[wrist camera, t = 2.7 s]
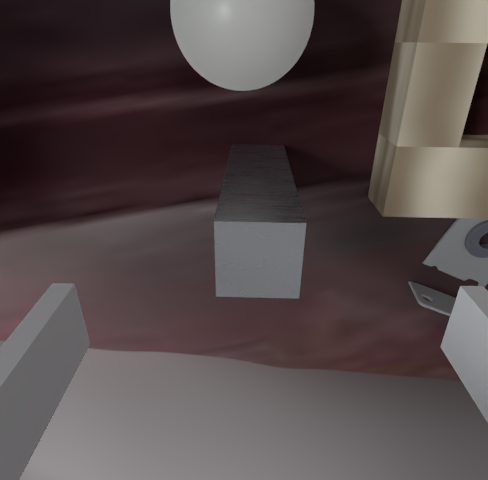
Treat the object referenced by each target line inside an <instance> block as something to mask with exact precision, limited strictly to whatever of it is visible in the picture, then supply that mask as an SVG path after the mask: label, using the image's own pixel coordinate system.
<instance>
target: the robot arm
mask: <svg viewBox="0 0 488 480" xmlns="http://www.w3.org/2000/svg"><path fill="white" fill-rule="evenodd" d="M89 345H90V341H89V337H88V333H87V329H86V325H85V322H84V318H83V314H82V310H81V306H80V302H79V298H78V294H77V290H76V287H75V283H52V284H51V286H50V287H49V288H48V289H47V291H46V292H45V293H44V294H43V296H42V297H41V298H40V299H39V301H38V302H37V303H36V304H35V305H34V307H33V308H32V309H31V310H30V312H29V313H28V314H27V315H26V317H25V318H24V319H23V320H22V322H21V323H20V324H19V325H18V326H17V328H16V329H15V330H14V331H13V333H12V334H11V335H10V336H9V338H8V339H7V340H6V341H5V343H4V344H3V345H2V346H1V347H0V480H19V479H20V477H21V475H22V473H23V471H24V469H25V468H26V466H27V464H28V462H29V460H30V458H31V456H32V454H33V452H34V450H35V448H36V447H37V445H38V443H39V441H40V439H41V437H42V435H43V433H44V431H45V429H46V427H47V426H48V423H49V422H50V420H51V418H52V416H53V414H54V412H55V410H56V408H57V406H58V405H59V403H60V401H61V399H62V397H63V395H64V393H65V391H66V389H67V387H68V385H69V384H70V382H71V380H72V378H73V376H74V374H75V372H76V370H77V368H78V366H79V364H80V362H81V361H82V359H83V357H84V355H85V353H86V351H87V349H88V347H89ZM441 349H442V350H443V352H444V353H445V355H446V357H447V358H448V360H449V362H450V363H451V365H452V366H453V368H454V370H455V371H456V373H457V374H458V376H459V378H460V379H461V381H462V382H463V384H464V385H465V387H466V389H467V390H468V392H469V394H470V395H471V397H472V399H473V400H474V402H475V403H476V405H477V407H478V408H479V410H480V411H481V413H482V415H483V416H484V418H485V419H486V421H487V423H488V291H487V290H486V289H485V288H484V286H460V288H459V291H458V295H457V298H456V301H455V304H454V307H453V310H452V313H451V316H450V319H449V322H448V325H447V328H446V331H445V334H444V337H443V340H442V344H441Z"/></svg>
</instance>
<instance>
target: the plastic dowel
mask: <svg viewBox="0 0 488 480" xmlns="http://www.w3.org/2000/svg"><path fill="white" fill-rule="evenodd" d="M170 14H171V22H172V27H173V31H174V35H175V38H176V41H177V43H178V46H179V48H180V50H181V52H182V54H183V55H184V57H185V58H186V60H187V61H188V63H189V64H190V65H191V66H192V67H193V69H194V70H195V71H196V72H198V73H199V74H200V75H201V76H202V77H204V78H205V79H206V80H208V81H209V82H211V83H213V84H215V85H217V86H220V87H222V88H225V89H230V90H236V91H249V90H255V89H259V88H262V87H265V86H268V85H270V84H272V83H274V82H275V81H277V80H278V79H280V78H281V77H283V76H284V75H285V74H286V73H287V72H288V71H289V70H290V69H291V68H292V67H293V66H294V65H295V64H296V62H297V61H298V59H299V58H300V56H301V55H302V53H303V51H304V49H305V47H306V45H307V42H308V40H309V37H310V34H311V30H312V26H313V19H314V0H170Z"/></svg>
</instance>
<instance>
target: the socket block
mask: <svg viewBox="0 0 488 480" xmlns="http://www.w3.org/2000/svg"><path fill="white" fill-rule="evenodd" d="M487 44H488V0H402V3H401V9H400V15H399V20H398V26H397V32H396V37H395V43H394V49H393V55H392V60H391V66H390V72H389V77H388V83H387V89H386V95H385V100H384V106H383V112H382V117H381V123H380V129H379V135H378V140H377V146H376V152H375V157H374V163H373V169H372V175H371V180H370V186H369V192H368V197H369V199H370V200H371V201H372V203H373V204H374V206H375V207H376V208H377V210H378V211H379V212H380V214H381V215H382V216H383V217H426V218H476V219H488V135H462V134H463V130H464V126H465V123H466V119H467V116H468V112H469V108H470V105H471V101H472V98H473V94H474V90H475V87H476V83H477V80H478V76H479V72H480V69H481V65H482V61H483V58H484V54H485V51H486V47H487Z"/></svg>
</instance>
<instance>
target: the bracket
mask: <svg viewBox="0 0 488 480" xmlns="http://www.w3.org/2000/svg"><path fill="white" fill-rule="evenodd" d="M486 233H488V219H476V218H458V219H457V220H456V221H455V222H454V223H453V224H452V225H451V227H450V228H449V229H448V230H447V231H446V233H445V234H444V235H443V236H442V238H441V239H440V240H439V242H438V243H437V244H436V246H435V247H434V248H433V250H432V251H431V252H430V254H429V255H428V256H427V258H426V259H425V261H424V262H423V264H426V265H428V266H430V267H431V266H437V267H438V270H440V271H442V272H445V273H447V274H449V275H452V276H454V277H456V278H459V279H461V280H464V281H465V280H467V279H472V280H475V281H477V282H478V283H479V284H478V286H484V287H485V286H486V285H487V284H488V243H487V244H479V241H480V238H481V237H482V236H483V235H485V234H486ZM408 283H409V285H410V287H411V289H412V291H413V293H414V295H415V298H416V300H417V302H418V303H419V304H420V305H421V306H423V307H426V308H429V309H431V310H434V311H437V312H439V313H442V314H445V315H447V316H451V313H452V310H453V307H454V304H455V301H456V298H455V297H452V296H449V295H447V294H444V293H441V292H439V291H436V290H434V289H431V288H428V287H426V286H423V285H420V284H418V283H414V282H412V281H409V282H408ZM423 297H425V298H427V299H429V300H430V301H431V302H429V301H427V300H425V299H424V298H423Z"/></svg>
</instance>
